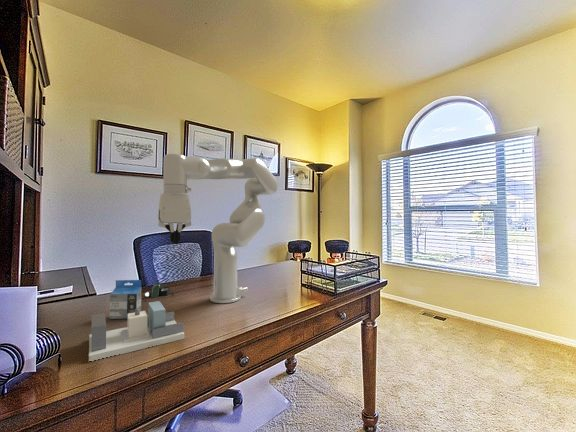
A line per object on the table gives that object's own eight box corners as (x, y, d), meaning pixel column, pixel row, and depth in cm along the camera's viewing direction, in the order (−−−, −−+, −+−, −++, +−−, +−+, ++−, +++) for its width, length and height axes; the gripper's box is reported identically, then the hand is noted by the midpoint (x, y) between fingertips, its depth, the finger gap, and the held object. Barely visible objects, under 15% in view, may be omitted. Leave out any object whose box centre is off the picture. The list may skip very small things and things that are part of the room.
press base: (172, 322, 90) (172, 317, 90) (184, 338, 78) (184, 333, 78) (89, 339, 77) (89, 334, 77) (88, 362, 66) (88, 355, 66)
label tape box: (108, 319, 92) (108, 282, 92) (115, 315, 96) (115, 279, 96) (136, 319, 93) (136, 282, 92) (141, 314, 97) (141, 279, 96)
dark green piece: (148, 290, 127) (148, 279, 127) (182, 289, 130) (183, 277, 130) (137, 301, 113) (137, 287, 113) (176, 299, 116) (176, 286, 116)
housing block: (145, 327, 81) (145, 305, 81) (147, 333, 77) (147, 310, 77) (127, 331, 78) (127, 308, 78) (128, 337, 74) (128, 313, 74)
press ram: (159, 322, 85) (159, 300, 85) (165, 333, 78) (165, 309, 78) (148, 324, 83) (148, 302, 83) (153, 335, 76) (153, 311, 76)
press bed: (173, 319, 89) (173, 300, 89) (183, 331, 79) (183, 311, 79) (91, 335, 76) (91, 314, 76) (91, 353, 67) (91, 328, 67)
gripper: (193, 192, 103) (193, 241, 103) (149, 190, 94) (149, 243, 94) (200, 191, 97) (200, 243, 97) (153, 188, 88) (153, 245, 88)
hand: (175, 243), depth 96 cm, fingers closed
